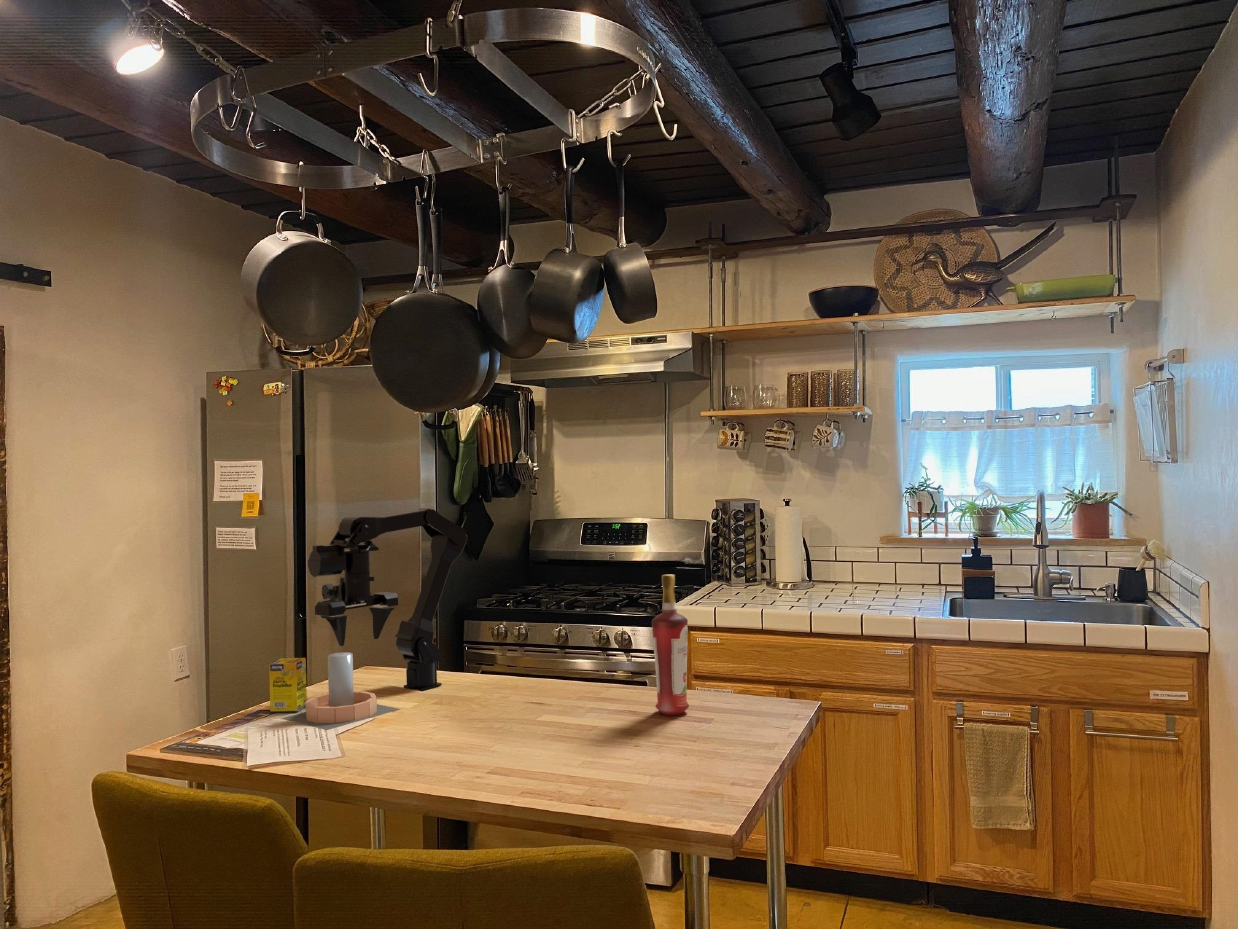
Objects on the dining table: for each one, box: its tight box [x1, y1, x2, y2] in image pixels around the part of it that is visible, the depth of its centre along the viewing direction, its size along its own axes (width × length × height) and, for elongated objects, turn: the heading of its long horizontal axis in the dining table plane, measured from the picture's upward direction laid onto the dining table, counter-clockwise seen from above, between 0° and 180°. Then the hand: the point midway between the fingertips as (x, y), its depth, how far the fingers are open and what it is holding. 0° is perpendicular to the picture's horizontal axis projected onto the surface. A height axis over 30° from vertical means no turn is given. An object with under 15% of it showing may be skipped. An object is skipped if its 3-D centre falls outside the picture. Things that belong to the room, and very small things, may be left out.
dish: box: [304, 690, 378, 723], centre depth 190 cm, size 14×14×3 cm
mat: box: [280, 703, 401, 731], centre depth 190 cm, size 18×16×1 cm
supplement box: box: [268, 657, 308, 715], centre depth 195 cm, size 6×6×11 cm
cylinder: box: [327, 651, 355, 707], centre depth 190 cm, size 5×5×12 cm
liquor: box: [651, 574, 690, 717], centre depth 185 cm, size 7×7×28 cm
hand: (359, 642), depth 203 cm, fingers open, 9 cm apart
